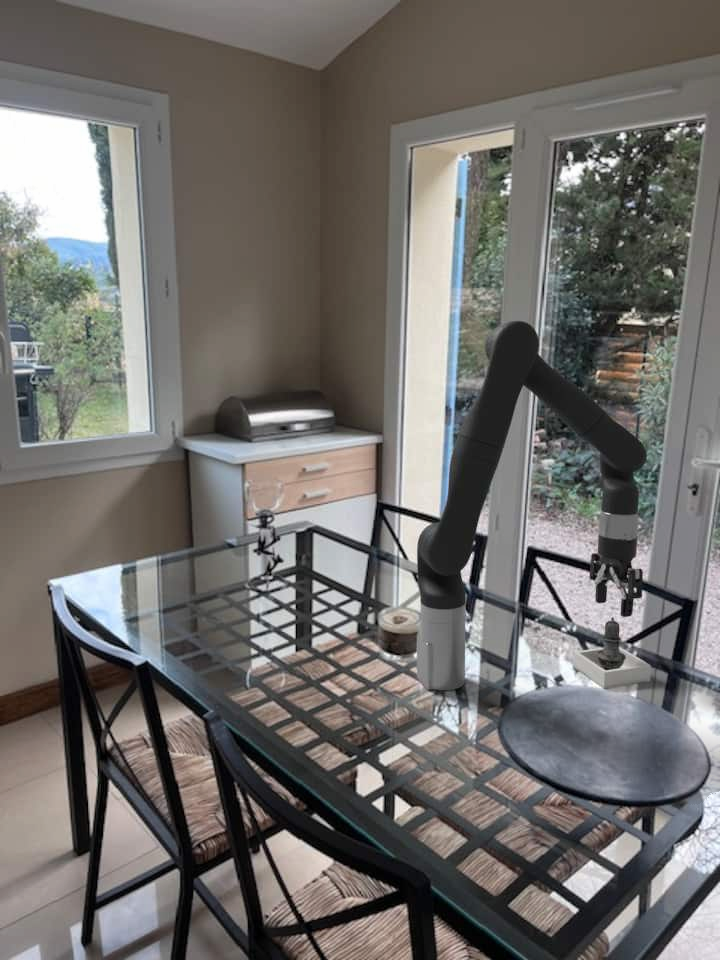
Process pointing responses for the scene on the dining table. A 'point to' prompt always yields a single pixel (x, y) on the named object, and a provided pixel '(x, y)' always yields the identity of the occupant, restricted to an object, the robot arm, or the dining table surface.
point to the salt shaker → (611, 647)
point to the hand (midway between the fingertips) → (613, 609)
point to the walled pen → (624, 675)
